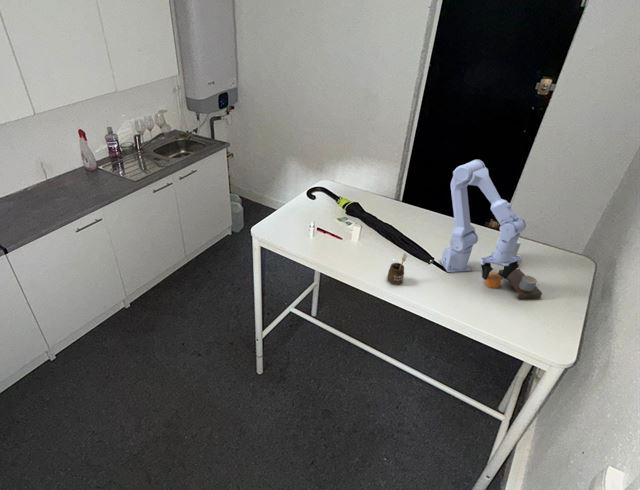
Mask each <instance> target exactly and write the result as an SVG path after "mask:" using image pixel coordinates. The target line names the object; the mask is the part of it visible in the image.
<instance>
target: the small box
mask: <svg viewBox="0 0 640 490" xmlns="http://www.w3.org/2000/svg"><path fill="white" fill-rule="evenodd" d="M500 235H501V232H499V236H498V239H497V242H496V243H495V248H496V246H497V243H498V240H499V237H500ZM521 244H522V243H521V241H520V240H519V239H518V241H517V244H516V246H515V249H514V251H513V254H512V256H518V254H519V253H518V252H519V250H520V247H521ZM495 248H494V251H495ZM494 251H493V252H494Z"/></svg>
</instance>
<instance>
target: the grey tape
mask: <svg viewBox="0 0 640 490" xmlns="http://www.w3.org/2000/svg"><path fill="white" fill-rule="evenodd" d="M537 283H538V280H537V279H536V278H535V277H533V276H531V275H525V276H523V277H522V279H521V281H520V284H519V288H520V289H522V290H524V291H528V292H530V291H533V290H534V287H535V286H536V285H537Z"/></svg>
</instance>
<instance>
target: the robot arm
mask: <svg viewBox="0 0 640 490" xmlns="http://www.w3.org/2000/svg"><path fill="white" fill-rule="evenodd" d="M468 186H475V187H478V188H479V189H480V191H481V192H482V193H483V195H484V196H485V198H486V199H487V200H488V201H489V203H490V211H491V212H492V215H494V217H495V219H496V220H497V222H498V224H499V225H500V226H499V233H501V235H500V234H499V235H500V237H499V236H498V238H499V240H498V239H497V241H498V243H497V242H496V244H497V246H496V245H495V247H496V248H494V250H495V251H493V254H491V255H488V256H485V257H480V259H479V262H478V263H479V264H480V267H481V278H482V279H483V280H484V281H486V279H487V278H488V275H489V274H490V273H492V271H493V270H494V268H493V267H492V264H494V265H501V266H503V268H502V270H503V272H502V276H501V277H502V278H503V279H504V280H506V278H507V277H508V276H509V275H510V273H511V272H513V271H514V270H515V269H519V267H520V265H519V264H521V262H522V260H523V259H522V258H523V257H521V256H520V255H516V256H512V254H513V251H514V249H515V246H516V244H517V241H518V240H519V238H520V236H521V233H523V232H524V231H525V230H526V227H527V223H526V221H525V219H524V218H522V216H521V217H520V216H518V214H516V212H515V211H514V209H513V208H512V204H511V202H508V200H506V199H503V198H501V195H500V194H499V192H498V191H497V187H496V186H495V185H494V183H493V181H492V179H491V177H490V173H489V168H487V167H486V165H485V163H484V161H482V160H481V159H473V160H471V161H469V162H466V163H465V164H462V165H459V166H457V167H456V168H455V169H454V170H453V171H452V178H451V181H450V191H451V202H452V210H453V211H452V212H453V219H454V228H453V230H452V232H451V234H450V235H451V238H450V241H449V245H450V247H446V248H444V249H443V252H442V255H441V256H442V257H441V259H440V260H439V262H440V263H441V265H442V266H443V268H444V269H445V270H446V272H447V273H455V272H470V271H471V270H472V269H471V268H470V267H469V265H468V264H469V261H470V258H471V257H470V256H471V254H472V250H473V246H474V245H476V244H477V243H478V241H479V235H478V234H477V233H476V228H475V227H474V226H473V225H472V224H471V215H470V205H469V196H468V195H469V193H468Z"/></svg>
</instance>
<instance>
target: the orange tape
mask: <svg viewBox="0 0 640 490" xmlns="http://www.w3.org/2000/svg"><path fill="white" fill-rule="evenodd" d="M502 278H503V277H502V276H500V275H498V273H496V272H490V273H489V275H488V278H487V279H486V280H485V282H484V284H485V286H487V287H488V288H491V289H498V288H499V287H500V285H501V283H502V280H503V279H502Z"/></svg>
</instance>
